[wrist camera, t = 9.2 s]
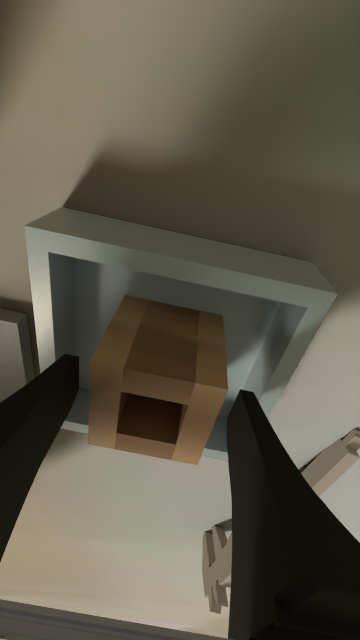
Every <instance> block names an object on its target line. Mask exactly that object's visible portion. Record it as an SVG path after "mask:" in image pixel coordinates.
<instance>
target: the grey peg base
mask: <svg viewBox="0 0 360 640" xmlns="http://www.w3.org/2000/svg"><path fill="white" fill-rule="evenodd" d="M34 378H35V373H34V365H33V357H32V349H31V341H30V333H29V325H28V317H27V314H26V313H21V312H16V311H11V310H6V309H2V308H0V402H2V401H3V400H5V399H6V398H8V397H9V396H10V395H12V394H13V393H15V392H16V391H18V390H19V389H21V388H22V387H23V386H25V385H26V384H27V383H29V382H30V381H31V380H32V379H34Z"/></svg>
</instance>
